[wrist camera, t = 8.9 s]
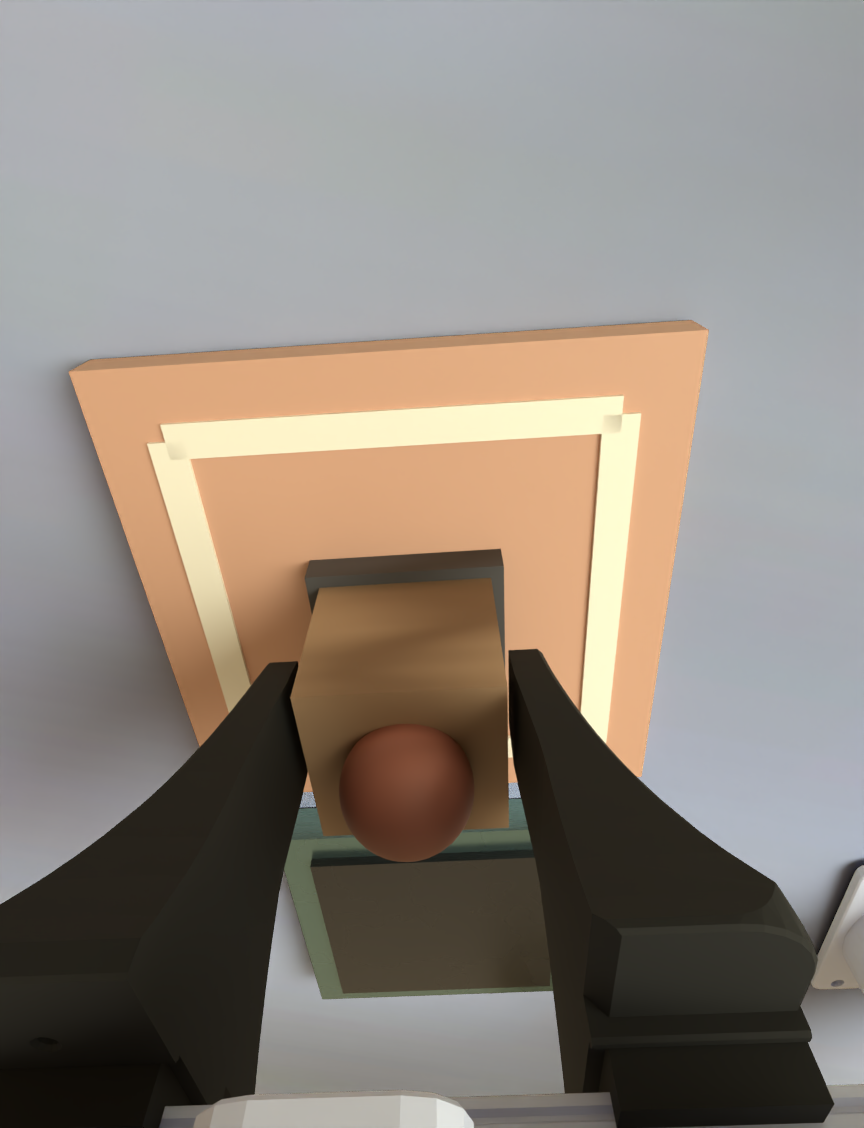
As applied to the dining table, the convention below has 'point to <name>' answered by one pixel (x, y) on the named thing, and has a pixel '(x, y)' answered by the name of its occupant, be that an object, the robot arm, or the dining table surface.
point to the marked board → (409, 493)
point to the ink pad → (421, 914)
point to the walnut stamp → (406, 699)
